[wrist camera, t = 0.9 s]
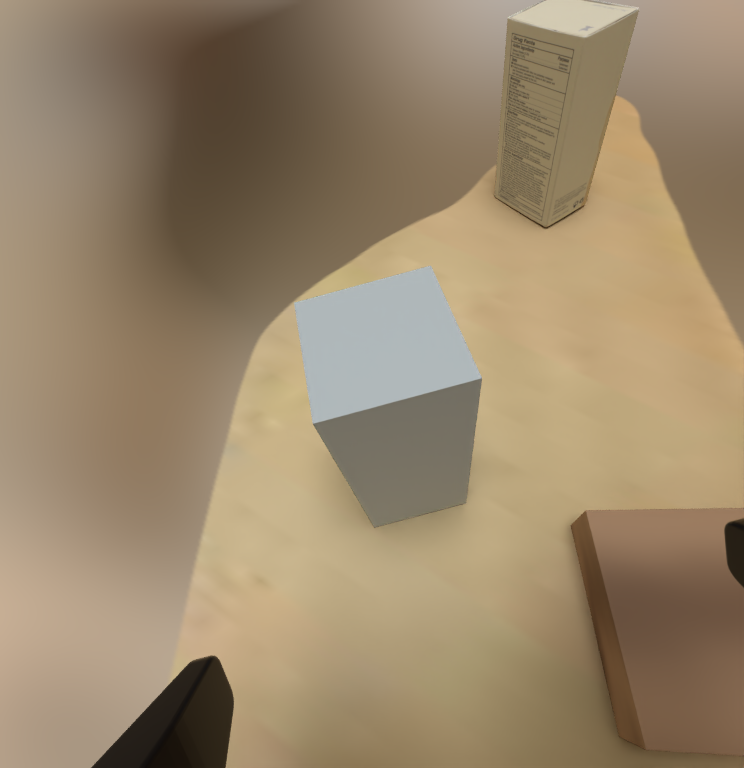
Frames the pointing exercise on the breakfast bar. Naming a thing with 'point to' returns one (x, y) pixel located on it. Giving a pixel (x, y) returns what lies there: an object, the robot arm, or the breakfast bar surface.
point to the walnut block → (667, 625)
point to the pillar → (392, 393)
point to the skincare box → (558, 102)
